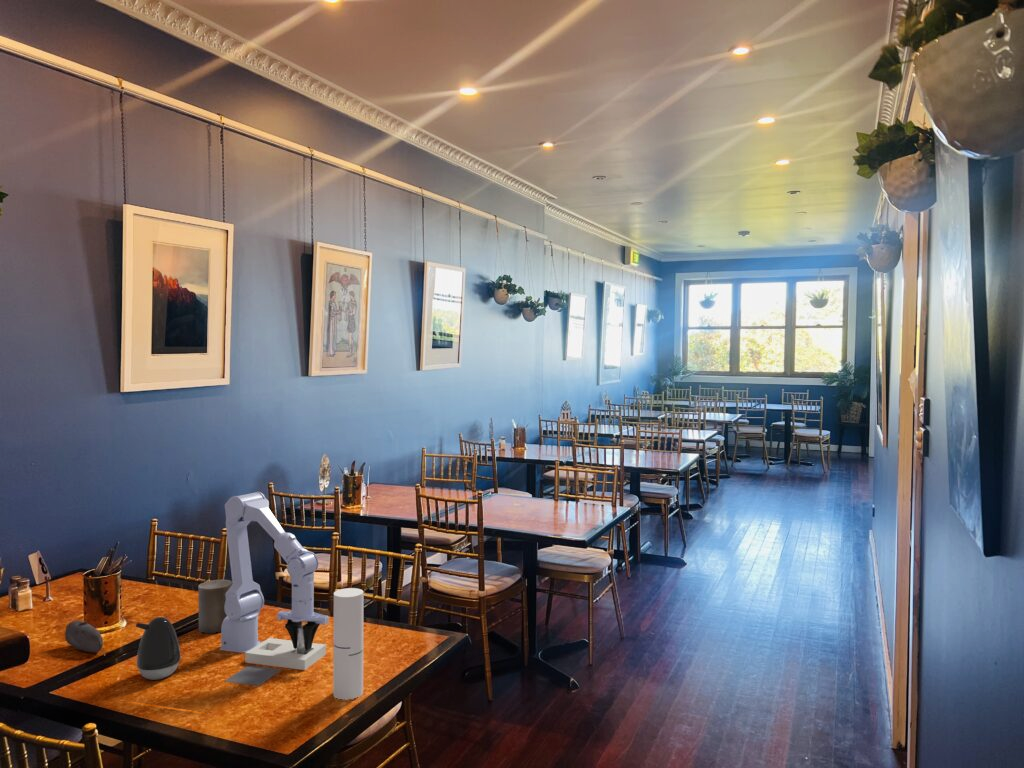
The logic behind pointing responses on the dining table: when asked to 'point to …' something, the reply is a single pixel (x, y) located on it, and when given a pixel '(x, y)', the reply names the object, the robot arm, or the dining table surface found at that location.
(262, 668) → the mat
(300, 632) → the peg
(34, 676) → the dining table surface
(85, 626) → the grey river pebble
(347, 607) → the cylindrical container
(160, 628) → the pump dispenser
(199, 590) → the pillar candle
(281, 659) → the hole block
